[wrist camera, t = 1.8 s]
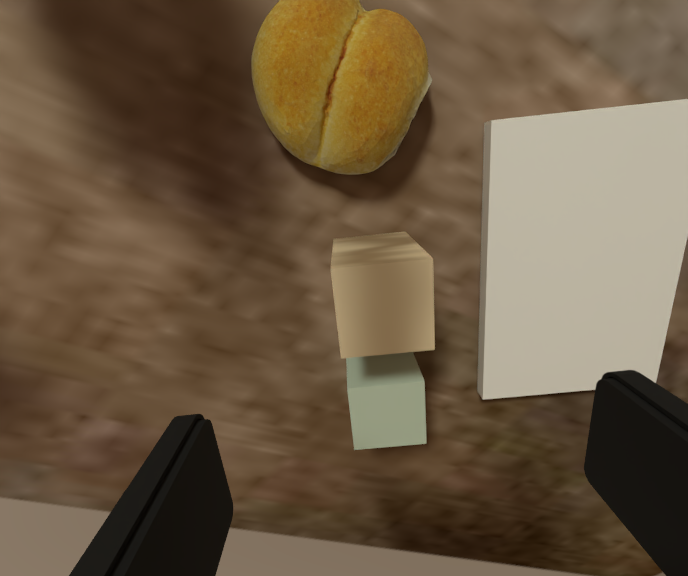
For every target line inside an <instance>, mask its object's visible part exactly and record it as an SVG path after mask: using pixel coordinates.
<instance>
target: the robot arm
mask: <svg viewBox="0 0 688 576" xmlns="http://www.w3.org/2000/svg"><path fill="white" fill-rule="evenodd" d="M584 470H585V474H586V477H587V479H588V481H589V483H590V484H591V485H592V487H593V488H594V489H595V490H596V491H597V493H598V494H599V495H600V496H601V497H602V499H603V500H604V501H605V502H606V503H607V505H608V506H609V507H610V508H611V510H612V511H613V512H614V513H615V514H616V516H617V517H618V518H619V519H620V520H621V522H622V523H623V524H624V525H625V526H626V528H627V529H628V530H629V531H630V533H631V534H632V535H633V536H634V537H635V539H636V540H637V541H638V542H639V543H640V545H641V546H642V547H643V548H644V549H645V551H646V552H647V553H648V554H649V556H650V557H651V558H652V559H653V560H654V562H655V563H656V564H657V565H658V566H659V568H660V569H661V570H662V571H663V572H664V574H665V575H666V576H688V404H687V403H686V402H684V401H682V400H681V399H679V398H678V397H676V396H675V395H673V394H672V393H670V392H669V391H667V390H666V389H664V388H662V387H661V386H659V385H658V384H656V383H655V382H653V381H652V380H650V379H649V378H647V377H646V376H644V375H642V374H641V373H639V372H637V371H635V370H624V371H614V372H607V373H605V374H604V375H603V376H602V378H601V379H600V380H598V382H597V384H596V389H595V396H594V402H593V409H592V416H591V423H590V430H589V437H588V444H587V450H586V457H585V464H584ZM232 516H233V502H232V498H231V494H230V490H229V486H228V483H227V479H226V475H225V471H224V468H223V464H222V460H221V456H220V453H219V449H218V445H217V441H216V438H215V434H214V430H213V426H212V423H211V421H210V420H208V419H206V420H205V419H204V417H203V416H202V415H201V414H193V415H184V416H177V417H175V418H174V419H173V420H172V421H171V423H170V424H169V426H168V427H167V429H166V430H165V432H164V433H163V435H162V436H161V438H160V439H159V441H158V442H157V444H156V445H155V447H154V448H153V450H152V451H151V453H150V455H149V456H148V458H147V459H146V461H145V462H144V464H143V465H142V467H141V468H140V470H139V471H138V473H137V474H136V476H135V477H134V479H133V480H132V482H131V483H130V485H129V486H128V488H127V489H126V490H125V492H124V493H123V495H122V496H121V498H120V499H119V501H118V502H117V504H116V505H115V507H114V508H113V510H112V512H111V513H110V515H109V516H108V518H107V519H106V521H105V522H104V524H103V525H102V527H101V528H100V530H99V531H98V533H97V534H96V536H95V537H94V539H93V540H92V542H91V543H90V545H89V546H88V548H87V549H86V551H85V553H84V554H83V555H82V557H81V558H80V560H79V562H78V563H77V564H76V566H75V568H74V569H73V571H72V572H71V574H70V575H69V576H215V575H216V571H217V568H218V565H219V561H220V558H221V554H222V551H223V547H224V544H225V541H226V537H227V534H228V531H229V527H230V524H231V521H232Z"/></svg>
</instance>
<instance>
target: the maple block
mask: <svg viewBox="0 0 688 576" xmlns="http://www.w3.org/2000/svg"><path fill="white" fill-rule="evenodd" d="M331 277H332V285H333V294H334V302H335V311H336V319H337V328H338V337H339V345H340V354H341V358H352V357H363V356H374V355H384V354H395V353H406V352H417V351H427V350H435V333H434V281H433V258H432V257H431V256H430V255H429V254H428V253H427V252H426V251H425V250H424V249H423V248H422V247H421V246H420V245H419V244H418V243H416V242H415V241H414V240H413V239H412V238H411V237H410V236H409V235H408V234H407V233H406V232H397V233H387V234H377V235H367V236H357V237H347V238H338V239H334V242H333V251H332V260H331Z"/></svg>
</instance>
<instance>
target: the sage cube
mask: <svg viewBox="0 0 688 576" xmlns="http://www.w3.org/2000/svg"><path fill="white" fill-rule="evenodd" d="M346 359H347V390H348V399H349V407H350V416H351V425H352V434H353V442H354V450H359V449H371V448H382V447H394V446H405V445H417V444H427V441H426V409H425V381H424V379H423V376H422V374H421V371H420V369H419V366H418V363H417V361H416V358H415V356H414V353H413V352H406V353H395V354H384V355H374V356H363V357H352V358H346Z"/></svg>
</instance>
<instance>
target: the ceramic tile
mask: <svg viewBox="0 0 688 576" xmlns="http://www.w3.org/2000/svg"><path fill="white" fill-rule="evenodd" d="M687 236H688V99H684V100H674V101H665V102H656V103H647V104H638V105H628V106H619V107H610V108H601V109H592V110H583V111H573V112H564V113H555V114H546V115H537V116H528V117H518V118H509V119H500V120H491V121H488V122H485V123H484V154H483V193H482V233H481V272H480V311H479V350H478V389H477V391H478V393H479V394H480V396H481V398H482V399H483V400H484V399H496V398H507V397H518V396H529V395H541V394H552V393H563V392H574V391H586V390H595V389H596V384H597V382H598V380H600V379H601V378H602V376H603V375H604V374H605V373H607V372H614V371H624V370H635V371H637V372H639V373H641V374H642V375H644V376H646V377H647V378H649V379H650V380H652V381H653V382H655V383H656V380H657V375H658V370H659V366H660V361H661V357H662V352H663V347H664V343H665V338H666V333H667V329H668V324H669V320H670V315H671V310H672V306H673V301H674V296H675V292H676V287H677V282H678V278H679V273H680V269H681V264H682V259H683V255H684V250H685V245H686V241H687Z"/></svg>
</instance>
